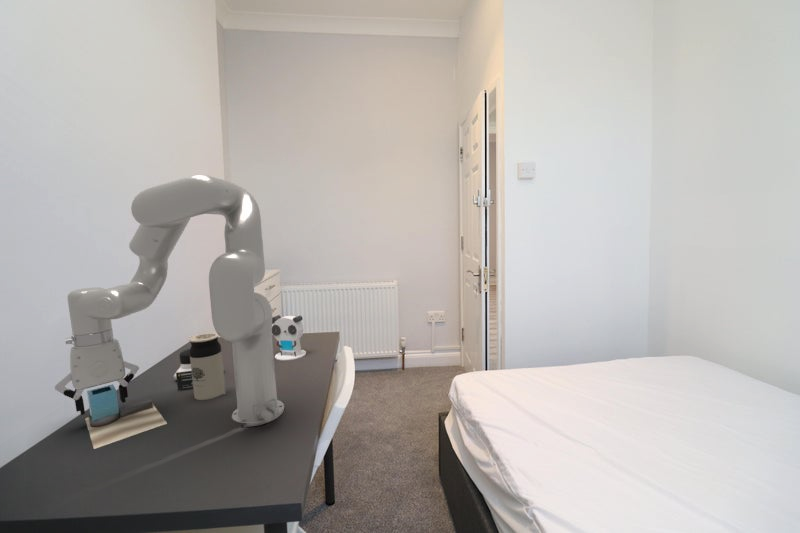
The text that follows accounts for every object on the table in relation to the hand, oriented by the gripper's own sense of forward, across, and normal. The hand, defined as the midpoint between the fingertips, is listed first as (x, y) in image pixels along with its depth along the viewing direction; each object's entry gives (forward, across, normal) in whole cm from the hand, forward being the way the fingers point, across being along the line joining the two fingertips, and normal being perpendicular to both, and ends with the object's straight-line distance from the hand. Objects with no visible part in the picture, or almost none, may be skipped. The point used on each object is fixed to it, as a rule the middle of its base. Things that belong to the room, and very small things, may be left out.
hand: (103, 406), depth 93 cm
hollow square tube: (+2, 0, 0) cm, 2 cm away
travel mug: (+5, +24, -4) cm, 24 cm away
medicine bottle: (+5, +22, +7) cm, 24 cm away
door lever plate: (+5, +4, -4) cm, 7 cm away
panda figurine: (+5, +56, +11) cm, 58 cm away
